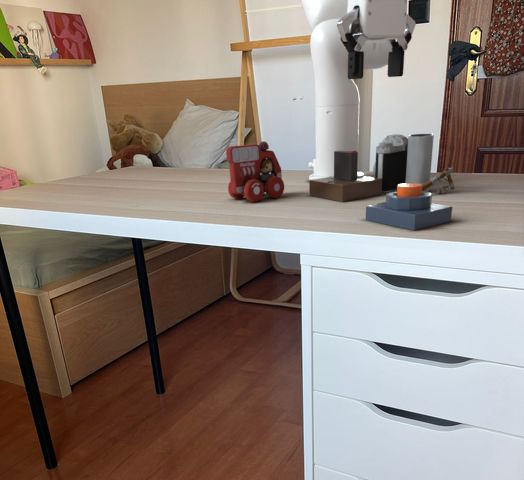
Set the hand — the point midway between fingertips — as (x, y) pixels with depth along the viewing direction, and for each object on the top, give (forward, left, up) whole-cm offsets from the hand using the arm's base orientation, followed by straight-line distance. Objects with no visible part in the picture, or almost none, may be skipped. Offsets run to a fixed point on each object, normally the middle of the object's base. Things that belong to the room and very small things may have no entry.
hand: (375, 77), depth 92 cm
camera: (-5, +11, -21) cm, 24 cm away
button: (+19, -11, -17) cm, 27 cm away
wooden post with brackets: (+7, +9, -21) cm, 24 cm away
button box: (+19, -11, -20) cm, 30 cm away
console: (-5, -2, -20) cm, 21 cm away
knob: (-5, -2, -17) cm, 18 cm away
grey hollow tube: (+3, +9, -20) cm, 23 cm away
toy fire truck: (-16, -16, -21) cm, 30 cm away
